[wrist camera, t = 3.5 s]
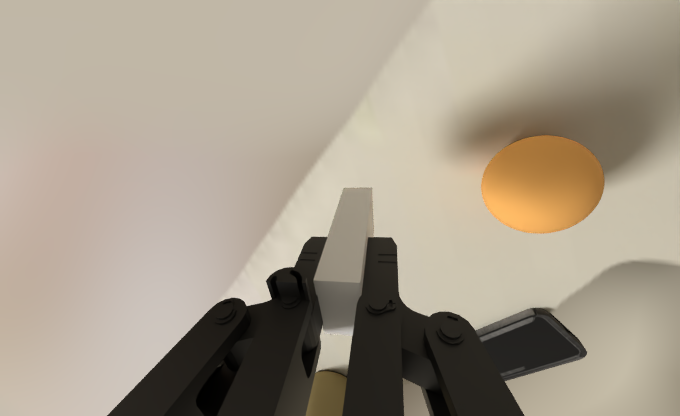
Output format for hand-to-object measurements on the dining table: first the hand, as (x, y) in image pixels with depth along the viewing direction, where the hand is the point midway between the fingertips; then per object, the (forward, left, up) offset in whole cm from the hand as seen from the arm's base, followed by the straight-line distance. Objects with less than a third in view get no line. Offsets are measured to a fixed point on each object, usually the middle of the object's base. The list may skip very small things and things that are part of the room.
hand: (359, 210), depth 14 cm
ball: (-10, 0, -3) cm, 10 cm away
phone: (-12, +21, -7) cm, 25 cm away
